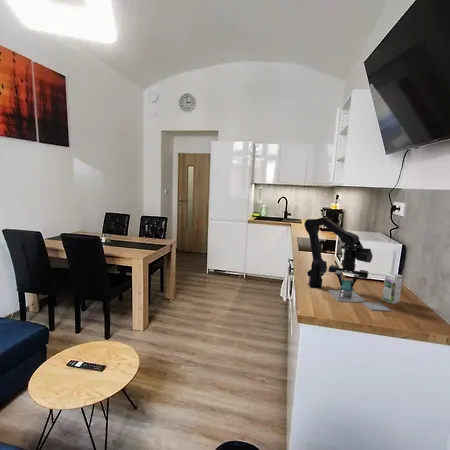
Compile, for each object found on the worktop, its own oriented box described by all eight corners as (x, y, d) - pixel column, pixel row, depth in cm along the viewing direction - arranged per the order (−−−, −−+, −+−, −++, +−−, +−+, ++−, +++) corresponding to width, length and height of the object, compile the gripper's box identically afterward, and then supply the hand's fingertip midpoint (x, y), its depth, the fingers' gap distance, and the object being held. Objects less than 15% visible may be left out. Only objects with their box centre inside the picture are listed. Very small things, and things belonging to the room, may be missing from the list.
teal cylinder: (343, 290, 147) (344, 280, 146) (339, 287, 152) (340, 277, 151) (352, 291, 147) (353, 280, 146) (348, 288, 152) (350, 278, 151)
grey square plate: (337, 301, 143) (338, 291, 142) (327, 291, 157) (328, 283, 156) (365, 302, 143) (366, 293, 142) (353, 292, 156) (354, 284, 156)
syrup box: (381, 300, 148) (384, 273, 146) (389, 298, 150) (392, 272, 148) (391, 304, 142) (395, 276, 141) (399, 302, 145) (403, 275, 143)
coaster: (371, 310, 133) (371, 309, 133) (362, 302, 142) (362, 301, 142) (390, 311, 133) (390, 310, 133) (380, 303, 142) (380, 302, 142)
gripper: (370, 258, 149) (367, 287, 151) (333, 253, 159) (331, 280, 161) (368, 262, 140) (365, 292, 142) (329, 256, 149) (326, 285, 151)
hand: (346, 287), depth 149 cm, fingers closed on teal cylinder, 5 cm apart
